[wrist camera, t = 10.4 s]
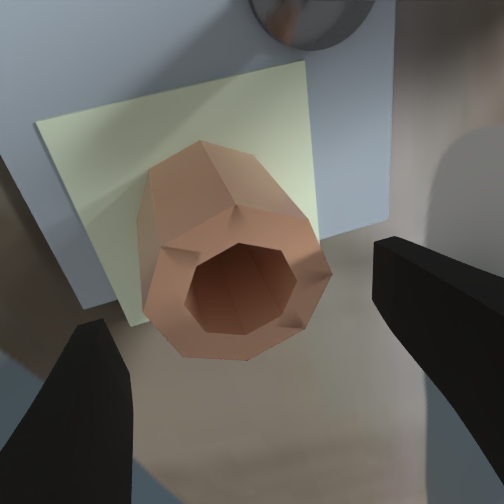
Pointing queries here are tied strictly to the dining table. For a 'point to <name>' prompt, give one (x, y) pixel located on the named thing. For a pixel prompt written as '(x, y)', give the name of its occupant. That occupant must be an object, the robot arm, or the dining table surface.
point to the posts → (310, 20)
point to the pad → (171, 142)
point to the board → (180, 75)
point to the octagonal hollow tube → (225, 255)
